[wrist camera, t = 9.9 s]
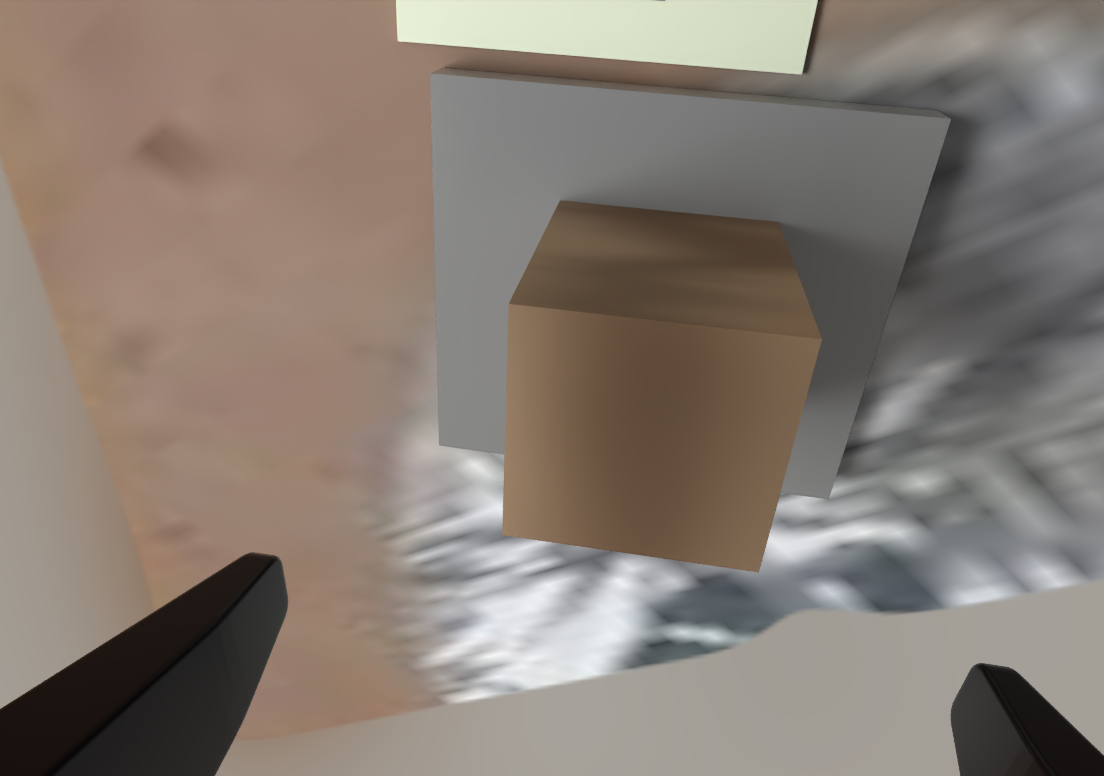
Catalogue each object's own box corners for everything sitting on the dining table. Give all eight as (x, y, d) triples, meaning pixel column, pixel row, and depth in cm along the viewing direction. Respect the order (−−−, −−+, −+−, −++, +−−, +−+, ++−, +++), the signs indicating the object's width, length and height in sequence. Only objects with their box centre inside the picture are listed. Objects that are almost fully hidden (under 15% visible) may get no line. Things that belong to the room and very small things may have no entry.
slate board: (936, 109, 16) (951, 119, 15) (822, 477, 21) (828, 499, 20) (443, 67, 17) (429, 73, 16) (448, 426, 22) (438, 445, 21)
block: (778, 222, 17) (822, 339, 12) (737, 407, 19) (759, 572, 14) (559, 200, 17) (509, 304, 12) (548, 385, 20) (502, 534, 15)
